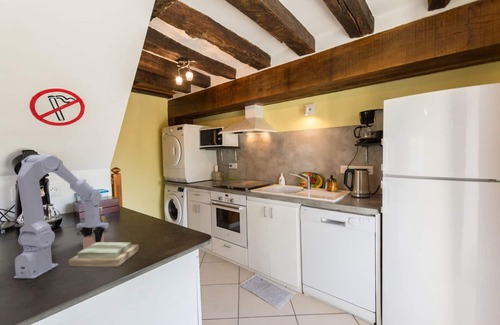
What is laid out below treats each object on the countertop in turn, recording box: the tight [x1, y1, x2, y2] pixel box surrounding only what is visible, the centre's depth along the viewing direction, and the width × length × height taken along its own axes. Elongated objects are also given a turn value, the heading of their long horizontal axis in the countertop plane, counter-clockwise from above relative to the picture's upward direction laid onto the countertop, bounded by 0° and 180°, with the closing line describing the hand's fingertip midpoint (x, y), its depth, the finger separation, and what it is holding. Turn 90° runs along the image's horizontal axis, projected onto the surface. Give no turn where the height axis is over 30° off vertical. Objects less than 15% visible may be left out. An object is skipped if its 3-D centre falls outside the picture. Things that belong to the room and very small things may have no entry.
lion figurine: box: [76, 216, 108, 235], centre depth 120 cm, size 15×5×9 cm, turn 105°
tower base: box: [68, 241, 140, 268], centre depth 92 cm, size 14×20×4 cm
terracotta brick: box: [82, 231, 105, 250], centre depth 105 cm, size 8×4×5 cm, turn 176°
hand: (93, 242), depth 105 cm, fingers closed on terracotta brick, 4 cm apart
